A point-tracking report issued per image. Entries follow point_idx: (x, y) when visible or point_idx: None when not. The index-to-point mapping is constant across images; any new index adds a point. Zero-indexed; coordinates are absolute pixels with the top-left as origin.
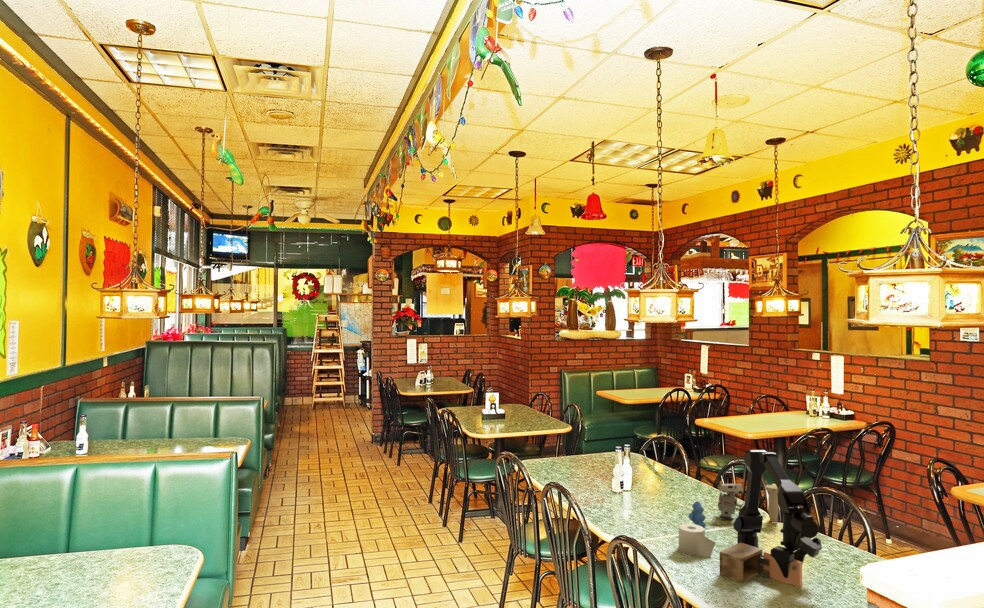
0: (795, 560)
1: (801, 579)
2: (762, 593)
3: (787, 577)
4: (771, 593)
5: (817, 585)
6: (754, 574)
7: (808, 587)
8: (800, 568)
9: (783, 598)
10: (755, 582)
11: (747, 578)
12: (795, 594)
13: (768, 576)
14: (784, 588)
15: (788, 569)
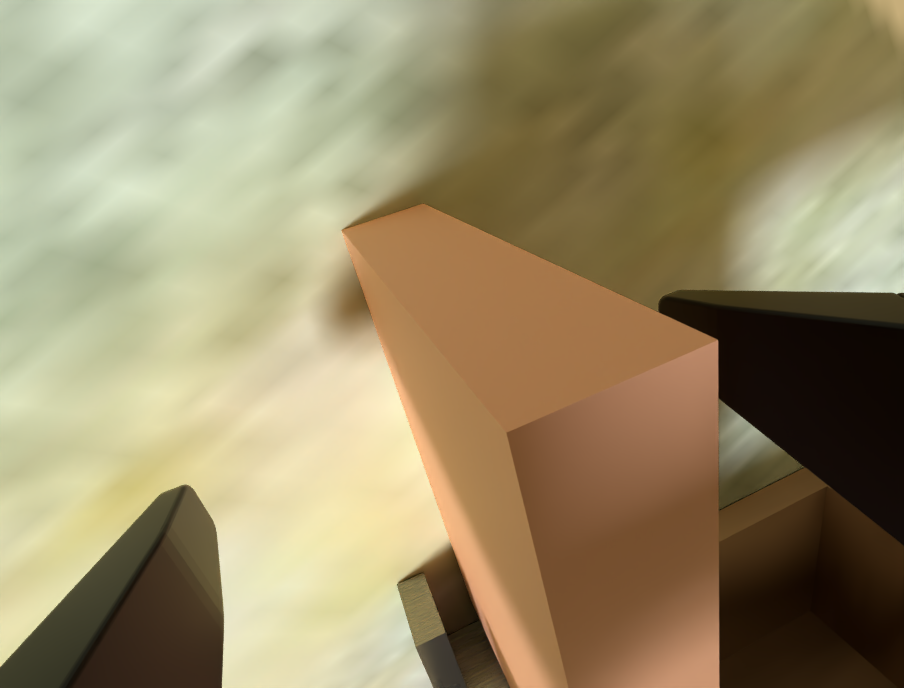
0: (620, 560)
1: (384, 245)
2: (890, 241)
3: (689, 290)
4: (839, 206)
5: (17, 128)
6: None
7: (288, 139)
8: (527, 294)
9: (870, 45)
10: (729, 451)
11: (754, 509)
12: (675, 51)
13: None
14: (630, 252)
15: (869, 304)
